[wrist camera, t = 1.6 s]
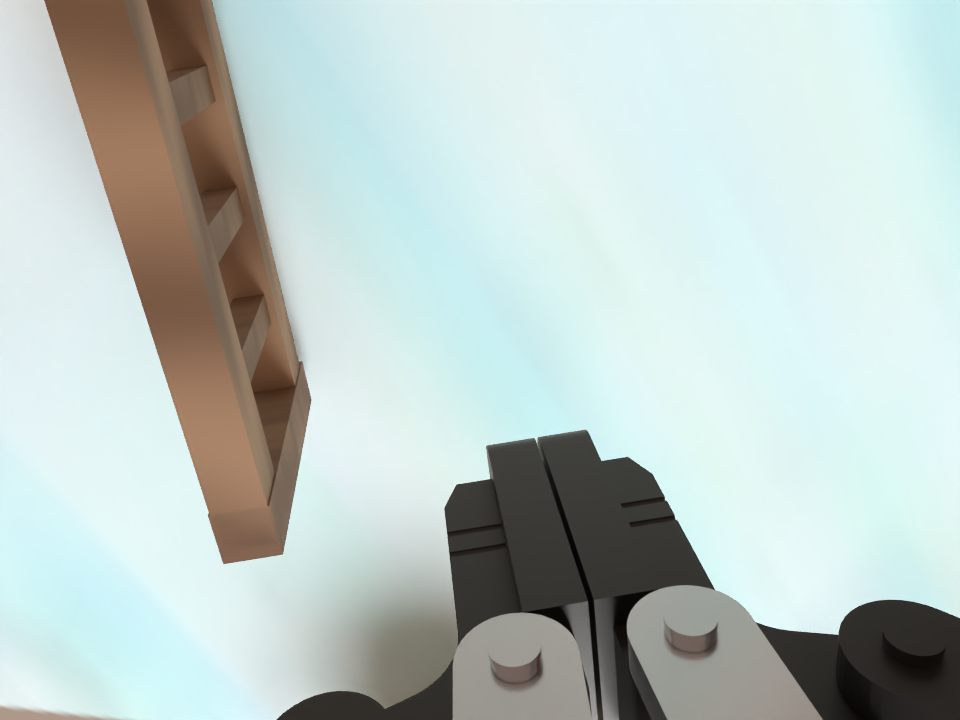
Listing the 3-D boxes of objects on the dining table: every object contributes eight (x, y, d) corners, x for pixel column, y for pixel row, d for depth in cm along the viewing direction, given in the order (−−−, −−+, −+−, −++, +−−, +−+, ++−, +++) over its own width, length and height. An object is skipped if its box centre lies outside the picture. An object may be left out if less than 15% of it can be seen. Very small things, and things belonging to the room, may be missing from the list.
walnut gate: (138, -83, 23) (3, -118, 15) (194, -91, 23) (90, -128, 15) (268, 406, 30) (223, 563, 22) (311, 400, 30) (282, 554, 22)
